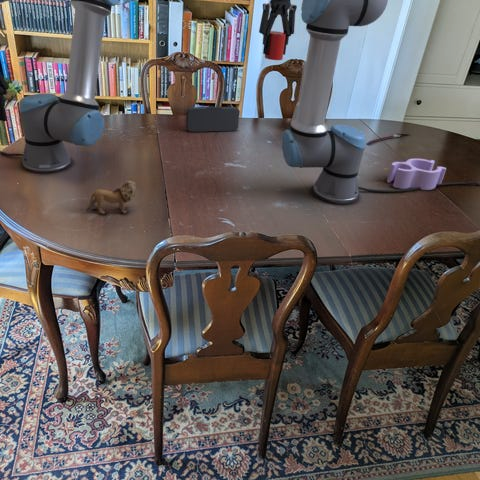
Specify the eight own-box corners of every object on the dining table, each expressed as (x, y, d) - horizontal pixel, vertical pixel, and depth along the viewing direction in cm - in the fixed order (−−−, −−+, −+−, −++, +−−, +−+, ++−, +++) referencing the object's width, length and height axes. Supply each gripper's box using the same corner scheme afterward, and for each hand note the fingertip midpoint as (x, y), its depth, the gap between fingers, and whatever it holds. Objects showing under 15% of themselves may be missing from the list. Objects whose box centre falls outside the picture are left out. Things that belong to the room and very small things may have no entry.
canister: (278, 61, 174) (281, 35, 170) (261, 57, 177) (264, 32, 172) (285, 58, 180) (288, 33, 175) (269, 55, 182) (271, 30, 177)
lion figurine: (135, 203, 142) (134, 176, 137) (138, 212, 138) (137, 185, 133) (85, 208, 137) (82, 180, 132) (86, 217, 133) (83, 189, 128)
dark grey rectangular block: (236, 128, 206) (238, 106, 201) (238, 130, 204) (240, 108, 199) (185, 129, 199) (186, 106, 194) (186, 132, 197) (187, 108, 192)
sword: (406, 132, 223) (406, 130, 222) (411, 134, 221) (412, 132, 220) (362, 144, 207) (363, 141, 206) (368, 146, 205) (368, 143, 204)
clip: (400, 192, 166) (405, 174, 163) (380, 176, 176) (385, 159, 172) (445, 188, 173) (451, 171, 169) (424, 174, 182) (429, 157, 179)
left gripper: (-69, 47, 92) (-44, 148, 104) (14, 30, 113) (28, 116, 124) (-101, 41, 94) (-72, 142, 105) (-12, 26, 114) (4, 111, 126)
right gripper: (298, -15, 172) (289, 51, 185) (253, -17, 163) (246, 52, 175) (311, -12, 167) (300, 55, 179) (264, -15, 158) (257, 56, 170)
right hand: (274, 54), depth 177 cm, fingers closed on canister, 7 cm apart
